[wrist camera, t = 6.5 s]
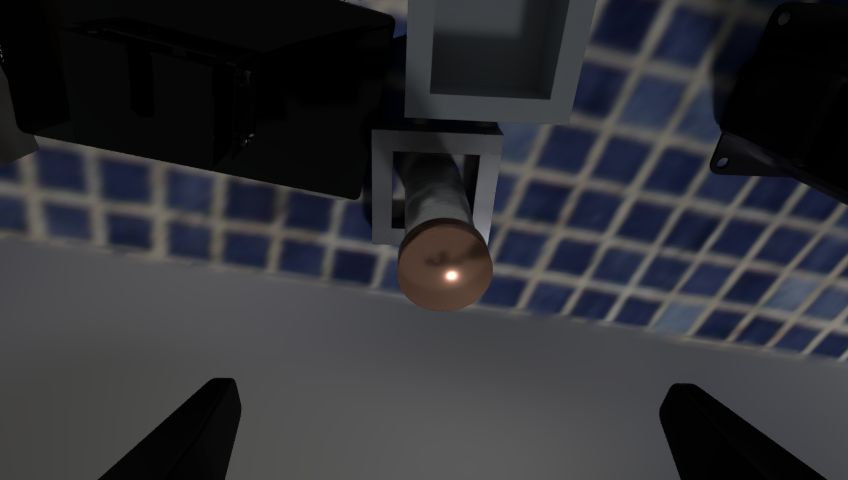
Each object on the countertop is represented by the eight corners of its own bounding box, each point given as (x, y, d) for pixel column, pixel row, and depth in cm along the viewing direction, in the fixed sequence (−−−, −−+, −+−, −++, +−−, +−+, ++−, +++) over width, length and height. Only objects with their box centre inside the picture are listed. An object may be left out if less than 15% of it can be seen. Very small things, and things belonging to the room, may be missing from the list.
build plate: (396, 15, 15) (401, 29, 11) (358, 202, 18) (352, 262, 14) (-23, -105, 12) (-212, -145, 8) (25, 136, 16) (-93, 188, 12)
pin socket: (499, 127, 17) (503, 135, 16) (483, 236, 20) (486, 247, 19) (373, 122, 17) (371, 129, 16) (373, 232, 20) (372, 244, 19)
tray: (582, -68, 14) (613, -77, 12) (547, 107, 17) (568, 124, 15) (410, -80, 14) (410, -92, 12) (404, 100, 17) (404, 117, 14)
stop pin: (468, 152, 18) (498, 233, 12) (463, 213, 19) (487, 311, 13) (400, 151, 18) (397, 231, 12) (400, 212, 19) (397, 311, 13)
